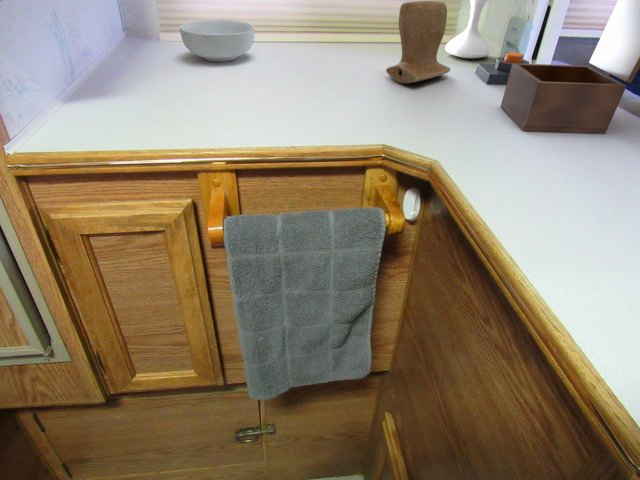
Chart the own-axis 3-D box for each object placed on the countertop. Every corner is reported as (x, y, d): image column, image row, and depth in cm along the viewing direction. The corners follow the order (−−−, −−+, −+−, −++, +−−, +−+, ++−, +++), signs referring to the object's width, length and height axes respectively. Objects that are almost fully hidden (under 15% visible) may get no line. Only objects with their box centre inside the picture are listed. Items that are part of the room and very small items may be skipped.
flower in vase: (497, 61, 107) (529, -60, 92) (456, 62, 105) (482, -61, 90) (471, 49, 117) (496, -61, 103) (433, 50, 115) (453, -63, 100)
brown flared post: (412, 66, 101) (423, -6, 92) (455, 77, 94) (472, 0, 85) (370, 77, 93) (378, -2, 84) (414, 90, 86) (428, 6, 77)
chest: (523, 131, 69) (539, 82, 65) (500, 107, 79) (512, 63, 74) (605, 134, 70) (627, 85, 65) (572, 109, 79) (589, 65, 74)
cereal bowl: (169, 61, 98) (163, 27, 94) (210, 47, 111) (207, 17, 107) (232, 70, 93) (228, 35, 89) (268, 55, 106) (266, 23, 102)
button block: (526, 75, 98) (532, 56, 95) (542, 86, 90) (549, 67, 88) (475, 73, 97) (479, 54, 95) (486, 84, 90) (491, 65, 88)
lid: (685, -29, 56) (690, -28, 56) (634, -35, 65) (639, -34, 65) (626, 82, 65) (631, 83, 65) (588, 62, 74) (593, 63, 74)
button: (517, 60, 93) (520, 52, 92) (523, 65, 90) (526, 56, 89) (501, 60, 93) (503, 51, 92) (507, 64, 90) (509, 55, 89)
